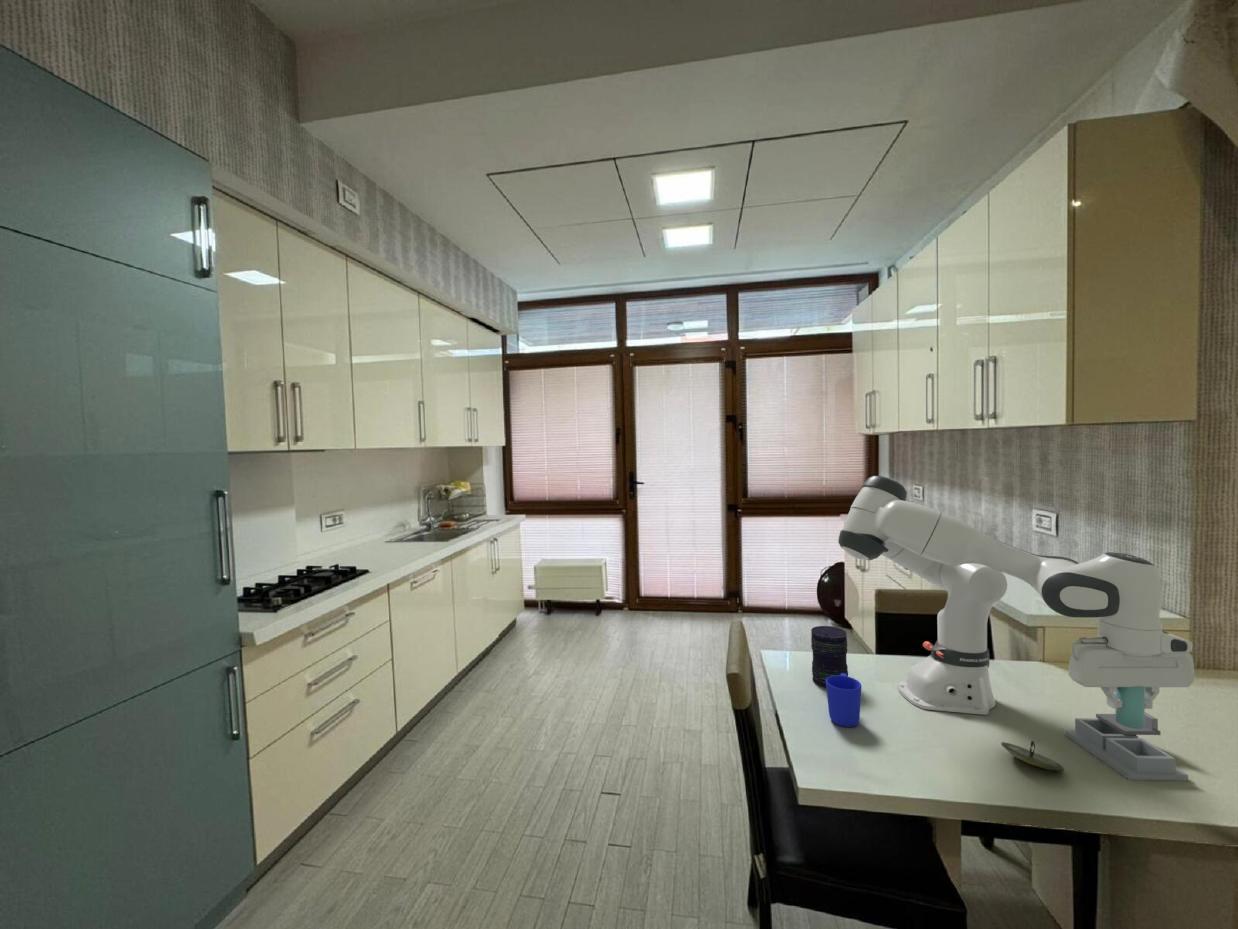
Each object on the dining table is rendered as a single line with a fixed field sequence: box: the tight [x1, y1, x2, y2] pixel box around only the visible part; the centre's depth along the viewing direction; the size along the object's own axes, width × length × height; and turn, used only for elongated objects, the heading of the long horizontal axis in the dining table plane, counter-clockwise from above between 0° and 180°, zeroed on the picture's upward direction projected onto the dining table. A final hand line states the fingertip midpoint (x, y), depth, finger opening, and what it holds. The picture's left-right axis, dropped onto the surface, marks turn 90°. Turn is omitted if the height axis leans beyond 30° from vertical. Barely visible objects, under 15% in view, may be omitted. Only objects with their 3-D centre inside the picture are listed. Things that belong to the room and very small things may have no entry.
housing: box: [1064, 717, 1189, 782], centre depth 109 cm, size 16×11×4 cm
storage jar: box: [810, 625, 849, 689], centre depth 148 cm, size 10×10×15 cm
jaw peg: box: [1114, 687, 1146, 729], centre depth 98 cm, size 4×4×8 cm
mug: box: [825, 673, 862, 728], centre depth 128 cm, size 8×12×10 cm
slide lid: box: [1095, 711, 1161, 736], centre depth 113 cm, size 7×7×3 cm
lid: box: [1000, 740, 1065, 772], centre depth 107 cm, size 11×10×5 cm
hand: (1129, 707), depth 99 cm, fingers closed on jaw peg, 4 cm apart
